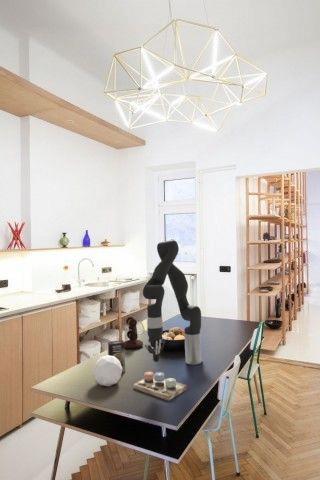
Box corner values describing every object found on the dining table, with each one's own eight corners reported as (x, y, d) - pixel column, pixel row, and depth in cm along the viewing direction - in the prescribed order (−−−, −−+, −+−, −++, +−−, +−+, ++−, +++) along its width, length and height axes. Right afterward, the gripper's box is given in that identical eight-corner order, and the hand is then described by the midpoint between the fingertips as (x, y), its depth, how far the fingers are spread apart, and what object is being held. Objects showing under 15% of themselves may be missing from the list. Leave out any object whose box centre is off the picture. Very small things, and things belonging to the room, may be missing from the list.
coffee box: (109, 374, 182) (108, 344, 182) (108, 369, 188) (107, 341, 189) (125, 371, 185) (124, 342, 185) (124, 367, 191) (123, 339, 191)
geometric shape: (100, 395, 168) (83, 370, 170) (122, 376, 178) (105, 353, 180) (110, 390, 157) (91, 363, 160) (132, 370, 167) (114, 345, 170)
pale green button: (170, 382, 160) (169, 377, 160) (178, 384, 157) (178, 379, 157) (163, 385, 156) (163, 380, 156) (171, 388, 153) (171, 383, 153)
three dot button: (158, 376, 164) (158, 371, 164) (166, 378, 161) (166, 373, 161) (152, 379, 161) (151, 374, 161) (160, 382, 157) (159, 377, 157)
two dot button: (148, 375, 169) (148, 370, 169) (155, 377, 166) (155, 373, 166) (141, 378, 165) (141, 374, 165) (149, 381, 162) (149, 376, 162)
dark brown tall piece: (146, 348, 225) (144, 318, 225) (125, 351, 220) (123, 321, 220) (139, 342, 239) (138, 314, 239) (119, 345, 233) (118, 317, 234)
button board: (152, 378, 173) (152, 373, 173) (186, 389, 159) (186, 383, 159) (133, 388, 163) (133, 382, 163) (168, 400, 148) (168, 394, 148)
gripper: (158, 322, 170) (159, 356, 169) (139, 327, 160) (141, 363, 159) (169, 324, 165) (170, 359, 164) (151, 329, 155) (152, 367, 154)
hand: (156, 361), depth 162 cm, fingers closed
